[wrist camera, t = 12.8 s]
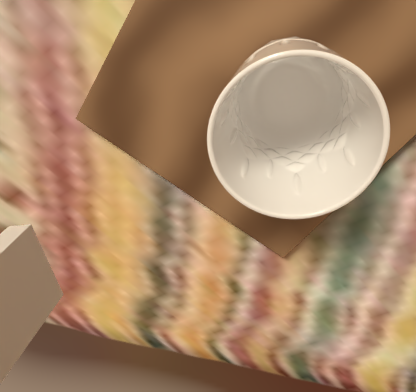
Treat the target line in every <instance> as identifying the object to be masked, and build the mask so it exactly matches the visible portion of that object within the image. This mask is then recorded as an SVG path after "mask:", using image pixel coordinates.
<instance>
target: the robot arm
mask: <svg viewBox="0 0 416 392" xmlns="http://www.w3.org/2000/svg"><path fill="white" fill-rule="evenodd" d="M62 296H63V292H62V290H61V288H60V286H59V284H58V282H57V280H56V277H55V275H54V273H53V271H52V269H51V267H50V264H49V262H48V260H47V258H46V256H45V254H44V251H43V249H42V247H41V245H40V243H39V241H38V238H37V236H36V234H35V232H34V230H33V228H32V226H31V224H29V225H17V226H9V227H8V228H7V229H5V230H4V231H3V232H2V233H1V234H0V384H1V383H2V381H3V379H4V378H5V377H6V375H7V374H8V373H9V371H10V370H11V368H12V367H13V365H14V364H15V363H16V361H17V360H18V358H19V357H20V355H21V354H22V353H23V351H24V350H25V348H26V347H27V345H28V344H29V343H30V341H31V340H32V338H33V337H34V335H35V334H36V332H37V331H38V330H39V328H40V327H41V326H42V324H43V323H44V321H45V320H46V319H47V317H48V316H49V314H50V313H51V311H52V310H53V309H54V307H55V306H56V304H57V303H58V301H59V300H60V299H61V297H62Z"/></svg>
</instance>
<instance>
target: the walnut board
mask: <svg viewBox="0 0 416 392" xmlns="http://www.w3.org/2000/svg"><path fill="white" fill-rule="evenodd" d="M294 36H297V37H300V38H303V39H308V40H312V41H315V42H318V43H320V44H322V45H324V46H326V47H328V48H330V49H332V50H334V51H335V52H337V53H338V54H340V55H341V56H342V57H344V58H345V59H347V60H348V61H350V62H351V63H353V64H355V65H356V66H357V67H359V68H360V69H361V70H362V71H364V72H365V73H366V74H367V75H368V76H369V77H370V78H371V79H372V81H373V82H374V83H375V85H376V86H377V87H378V89H379V91H380V92H381V94H382V96H383V98H384V101H385V103H386V106H387V110H388V114H389V119H390V141H389V146H388V151H387V154H386V157H385V160H384V162H383V164H385V163H386V162H387V161H388V160H389V159H390V158H391V157H392V156H393V155H394V154H395V153H396V152H397V151H398V150H400V149H401V148H402V147H403V146H404V145H405V144H406V143H407V142H408V141H409V140H410V139H411V138H412V137H414V136H415V135H416V0H135V2H134V4H133V6H132V8H131V10H130V12H129V14H128V16H127V18H126V20H125V22H124V24H123V26H122V28H121V30H120V32H119V34H118V36H117V38H116V40H115V42H114V44H113V46H112V48H111V50H110V52H109V54H108V56H107V58H106V60H105V62H104V64H103V66H102V68H101V70H100V72H99V74H98V76H97V78H96V80H95V82H94V84H93V85H92V87H91V89H90V91H89V93H88V95H87V97H86V99H85V101H84V103H83V105H82V107H81V109H80V111H79V113H78V115H77V117H76V119H77V120H78V121H80V122H81V123H83V124H84V125H86V126H87V127H89V128H90V129H92V130H93V131H95V132H96V133H98V134H99V135H101V136H102V137H104V138H105V139H107V140H108V141H110V142H111V143H113V144H114V145H116V146H117V147H119V148H120V149H122V150H123V151H125V152H126V153H128V154H129V155H131V156H132V157H134V158H135V159H137V160H138V161H140V162H141V163H143V164H144V165H146V166H147V167H149V168H150V169H152V170H153V171H155V172H156V173H157V174H159V175H160V176H162V177H163V178H165V179H166V180H168V181H169V182H171V183H172V184H174V185H175V186H177V187H178V188H180V189H181V190H183V191H184V192H186V193H187V194H189V195H190V196H192V197H193V198H195V199H196V200H198V201H199V202H201V203H202V204H204V205H205V206H207V207H208V208H210V209H211V210H213V211H214V212H216V213H217V214H219V215H220V216H222V217H223V218H225V219H226V220H228V221H229V222H231V223H232V224H234V225H235V226H236V227H238V228H239V229H241V230H242V231H244V232H245V233H247V234H248V235H250V236H251V237H253V238H254V239H256V240H257V241H259V242H260V243H262V244H263V245H265V246H266V247H268V248H269V249H271V250H272V251H274V252H275V253H277V254H278V255H280V256H281V257H283V258H284V257H285V256H286V255H287V254H288V253H289V252H290V251H291V250H292V249H293V248H294V247H295V246H296V245H298V244H299V243H300V242H301V241H302V240H303V239H304V238H305V237H306V236H307V235H308V234H309V233H310V232H312V231H313V230H314V229H315V228H316V227H317V226H318V225H319V224H320V223H321V222H322V221H323V220H324V219H325V218H327V217H328V216H329V215H330V214H331V213H332V212H330V213H327V214H324V215H321V216H317V217H313V218H306V219H281V218H275V217H270V216H267V215H264V214H261V213H258V212H256V211H254V210H252V209H250V208H248V207H246V206H244V205H243V204H241V203H240V202H239V201H237V200H236V199H235V198H234V197H233V196H232V195H230V194H229V192H228V191H227V190H226V189H225V188H224V187H223V185H222V184H221V183H220V181H219V180H218V178H217V176H216V174H215V172H214V170H213V168H212V165H211V162H210V159H209V154H208V148H207V130H208V124H209V119H210V116H211V113H212V110H213V107H214V105H215V103H216V101H217V99H218V97H219V96H220V94H221V92H222V91H223V90H224V88H225V87H226V86H227V84H228V83H229V82H230V80H231V79H232V77H233V76H234V74H235V73H236V71H237V70H238V69H239V68H240V66H241V65H242V64H243V63H244V62H245V61H246V60H247V59H248V58H249V57H250V56H251V55H252V54H253V53H254V52H255V51H257V50H258V49H260V48H262V47H263V46H264V45H266V44H267V43H268V42H270V41H272V40H277V39H283V38H288V37H294ZM383 164H382V165H383Z"/></svg>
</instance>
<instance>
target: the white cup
mask: <svg viewBox="0 0 416 392" xmlns="http://www.w3.org/2000/svg"><path fill="white" fill-rule="evenodd" d="M389 141H390V119H389V114H388V110H387V106H386V103H385V101H384V98H383V96H382V94H381V92H380V91H379V89H378V87H377V86H376V85H375V83H374V82H373V81H372V79H371V78H370V77H369V76H368V75H367V74H366V73H365V72H364V71H362V70H361V69H360V68H359V67H357V66H356V65H355V64H353V63H351V62H350V61H348V60H347V59H345V58H344V57H342V56H341V55H340V54H338V53H337V52H335V51H334V50H332V49H330V48H328V47H326V46H324V45H322V44H320V43H318V42H315V41H312V40H308V39H303V38H300V37H297V36H294V37H288V38H283V39H277V40H272V41H270V42H268V43H267V44H266V45H264V46H263V47H262V48H260V49H258V50H257V51H255V52H254V53H253V54H252V55H251V56H250V57H249V58H248V59H247V60H246V61H245V62H244V63H243V64H242V65H241V66H240V68H239V69H238V70H237V71H236V73H235V74H234V76H233V77H232V79H231V80H230V82H229V83H228V84H227V86H226V87H225V88H224V90H223V91H222V92H221V94H220V96H219V97H218V99H217V101H216V103H215V105H214V107H213V110H212V113H211V116H210V119H209V124H208V130H207V148H208V154H209V159H210V162H211V165H212V168H213V170H214V172H215V174H216V176H217V178H218V180H219V181H220V183H221V184H222V185H223V187H224V188H225V189H226V190H227V191H228V192H229V194H230V195H232V196H233V197H234V198H235V199H236V200H237V201H239V202H240V203H241V204H243V205H244V206H246V207H248V208H250V209H252V210H254V211H256V212H258V213H261V214H264V215H267V216H270V217H275V218H281V219H306V218H313V217H317V216H321V215H324V214H327V213H330V212H333V211H335V210H337V209H339V208H341V207H343V206H345V205H346V204H348V203H349V202H351V201H352V200H354V199H355V198H356V197H357V196H359V195H360V194H361V193H362V192H363V191H364V190H365V189H366V188H367V187H368V186H369V185H370V183H371V182H372V181H373V180H374V178H375V177H376V175H377V174H378V172H379V170H380V168H381V167H382V164H383V162H384V160H385V157H386V154H387V151H388V146H389Z"/></svg>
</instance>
